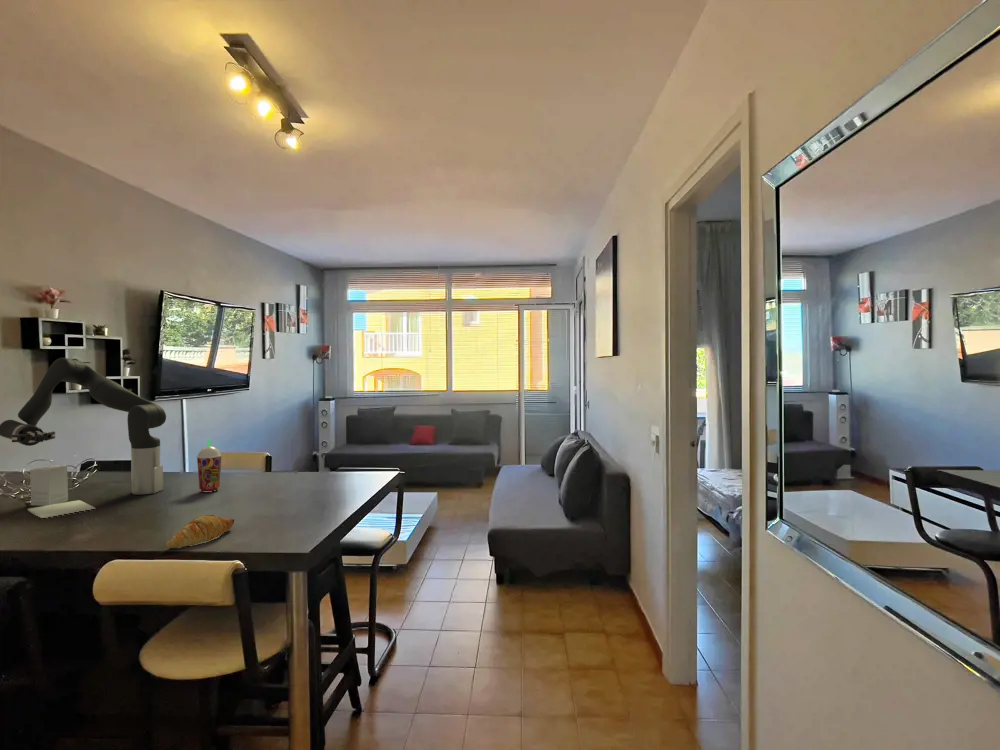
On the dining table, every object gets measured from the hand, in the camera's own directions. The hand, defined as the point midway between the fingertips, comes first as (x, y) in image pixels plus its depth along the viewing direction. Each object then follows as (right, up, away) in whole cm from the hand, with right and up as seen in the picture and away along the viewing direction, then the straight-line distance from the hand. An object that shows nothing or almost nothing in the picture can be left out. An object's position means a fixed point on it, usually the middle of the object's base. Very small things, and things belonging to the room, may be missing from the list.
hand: (40, 439), depth 192 cm
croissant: (+80, -24, -41) cm, 93 cm away
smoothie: (+53, -22, +14) cm, 59 cm away
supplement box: (+7, -22, -5) cm, 24 cm away
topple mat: (+18, -22, -13) cm, 31 cm away
